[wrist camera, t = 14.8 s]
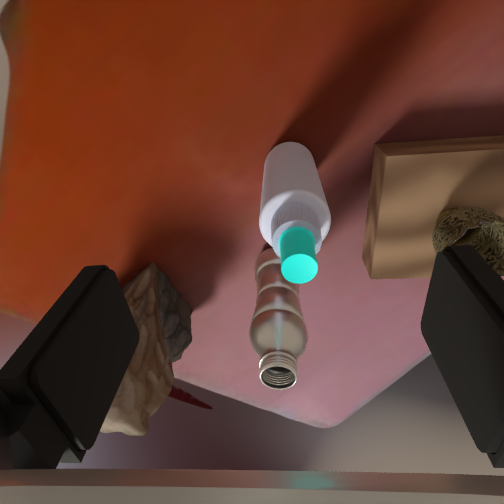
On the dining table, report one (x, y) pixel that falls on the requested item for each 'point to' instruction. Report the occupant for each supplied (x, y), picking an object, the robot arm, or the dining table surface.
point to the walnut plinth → (425, 198)
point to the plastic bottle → (277, 324)
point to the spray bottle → (293, 210)
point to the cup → (472, 233)
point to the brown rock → (150, 351)
